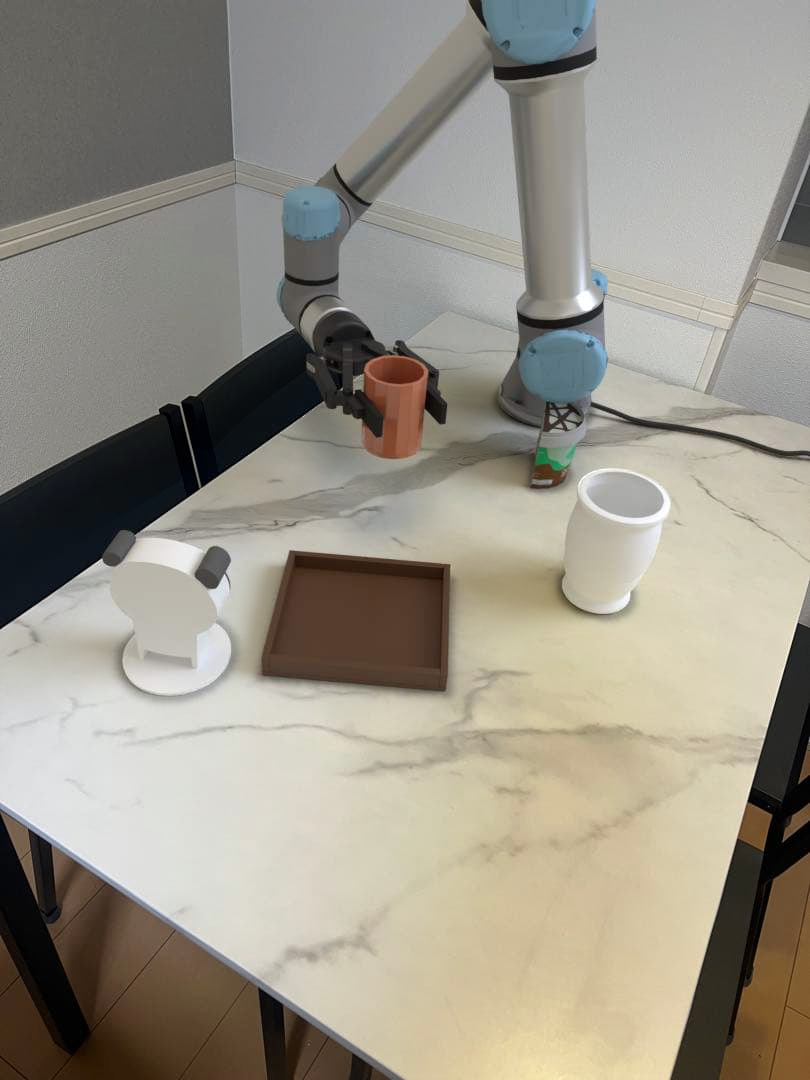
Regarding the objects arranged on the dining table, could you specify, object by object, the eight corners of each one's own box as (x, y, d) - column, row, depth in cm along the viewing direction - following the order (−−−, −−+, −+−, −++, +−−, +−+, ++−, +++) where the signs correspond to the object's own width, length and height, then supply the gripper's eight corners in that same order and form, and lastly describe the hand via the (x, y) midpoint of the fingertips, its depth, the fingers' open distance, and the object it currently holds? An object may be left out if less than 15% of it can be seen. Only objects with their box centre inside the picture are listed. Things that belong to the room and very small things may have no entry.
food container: (572, 501, 113) (587, 441, 106) (529, 493, 113) (541, 433, 107) (576, 454, 122) (590, 396, 116) (536, 447, 123) (547, 390, 116)
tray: (448, 579, 98) (450, 563, 97) (445, 691, 85) (448, 675, 83) (290, 565, 99) (289, 549, 97) (262, 675, 85) (260, 658, 83)
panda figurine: (250, 627, 90) (242, 523, 81) (215, 705, 82) (201, 600, 72) (149, 609, 91) (129, 505, 82) (104, 685, 83) (75, 578, 73)
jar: (586, 552, 104) (612, 456, 95) (654, 594, 99) (689, 497, 89) (535, 588, 98) (558, 490, 89) (605, 635, 93) (638, 536, 83)
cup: (422, 429, 102) (429, 358, 96) (419, 462, 96) (426, 388, 90) (365, 424, 102) (368, 352, 96) (358, 456, 97) (361, 382, 90)
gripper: (403, 350, 114) (484, 432, 98) (265, 372, 106) (329, 465, 91) (407, 300, 109) (492, 377, 94) (263, 319, 101) (330, 407, 86)
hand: (412, 420), depth 92 cm, fingers closed on cup, 7 cm apart
